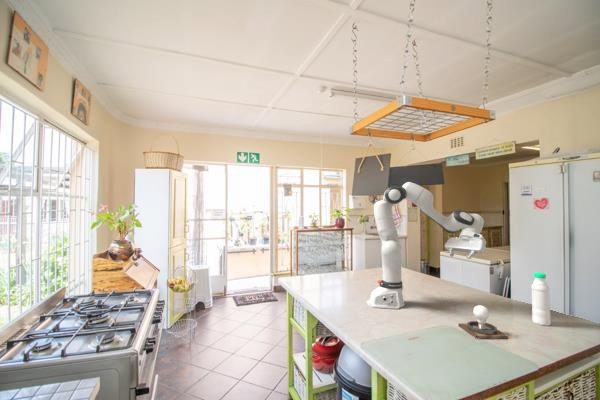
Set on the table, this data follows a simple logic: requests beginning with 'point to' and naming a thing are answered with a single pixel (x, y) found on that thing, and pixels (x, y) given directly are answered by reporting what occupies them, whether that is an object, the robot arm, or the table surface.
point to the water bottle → (540, 300)
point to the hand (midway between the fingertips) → (459, 256)
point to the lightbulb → (481, 315)
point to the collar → (482, 330)
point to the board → (482, 336)
